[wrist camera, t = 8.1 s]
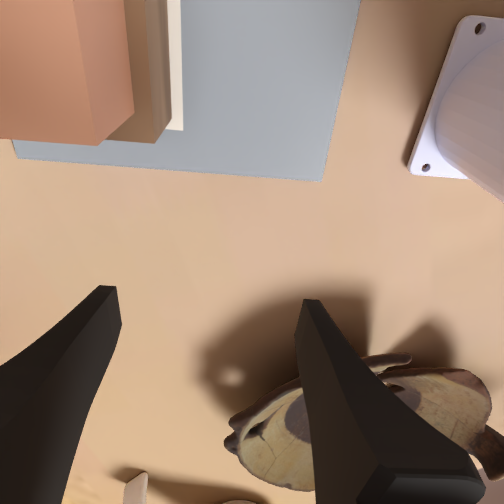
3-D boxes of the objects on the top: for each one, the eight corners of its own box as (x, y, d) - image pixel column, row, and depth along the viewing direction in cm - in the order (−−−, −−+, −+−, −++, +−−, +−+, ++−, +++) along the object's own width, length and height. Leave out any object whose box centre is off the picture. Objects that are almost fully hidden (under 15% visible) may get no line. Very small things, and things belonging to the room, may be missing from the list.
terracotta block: (121, -24, 12) (65, -42, 8) (134, 112, 14) (96, 146, 11) (-16, -40, 12) (-138, -66, 8) (23, 102, 14) (-56, 134, 10)
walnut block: (166, -20, 15) (142, -32, 12) (171, 118, 19) (154, 143, 15) (28, -36, 15) (-42, -52, 11) (58, 109, 18) (12, 132, 15)
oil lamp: (319, 272, 26) (344, 356, 19) (552, 389, 35) (620, 471, 29) (190, 416, 36) (179, 500, 30) (395, 476, 46) (419, 550, 39)
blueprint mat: (391, -153, 14) (395, -157, 13) (320, 179, 21) (321, 182, 21) (-93, -225, 12) (-101, -230, 12) (20, 156, 20) (17, 158, 20)
